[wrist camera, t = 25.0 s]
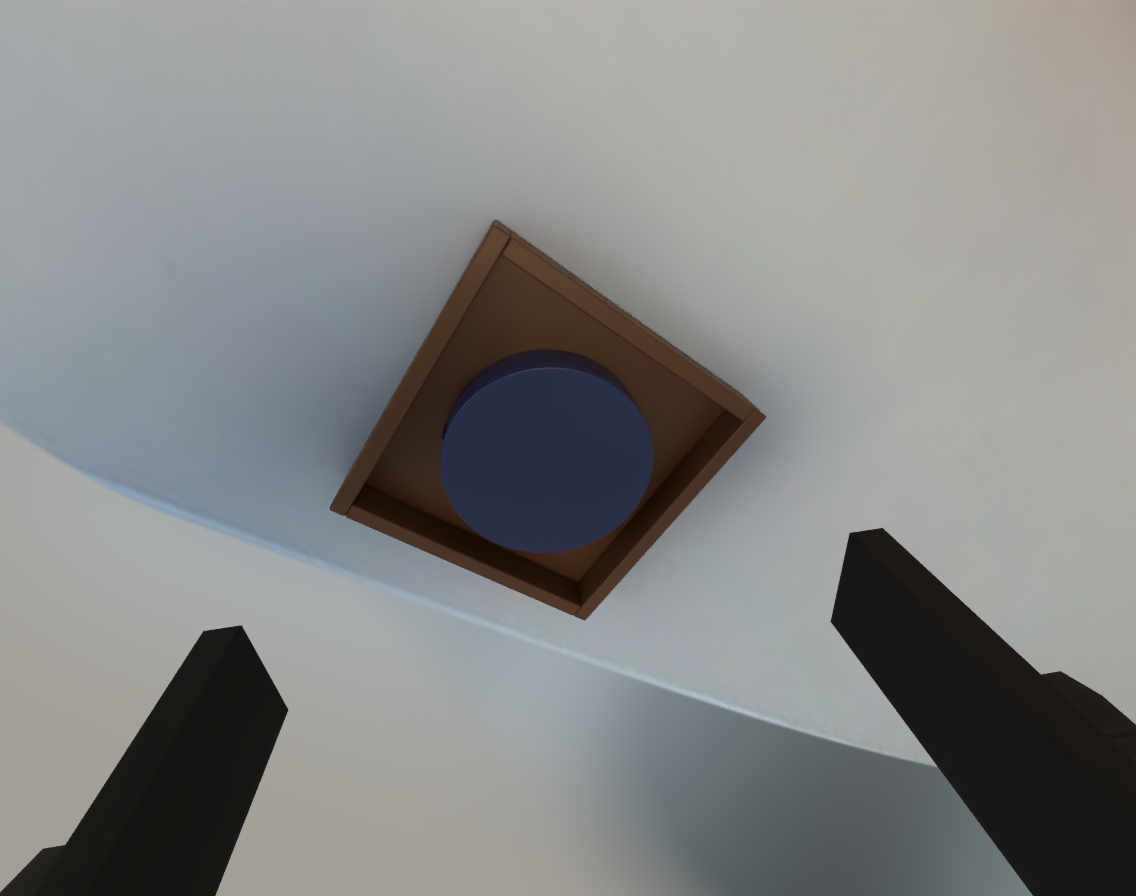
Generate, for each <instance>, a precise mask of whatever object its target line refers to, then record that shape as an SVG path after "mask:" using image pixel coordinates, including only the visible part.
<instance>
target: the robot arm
mask: <svg viewBox="0 0 1136 896" xmlns="http://www.w3.org/2000/svg"><path fill="white" fill-rule="evenodd" d="M831 623H832V624H833V625H834V627H835V628H836V630H837V631H838V632H839V634H840V635H841V636H842V638H843V639H844V640H845V642H846V643H847V644H848V646H849V647H850V648H851V650H852V651H853V653H854V654H855V655H856V657H857V658H858V659H859V661H860V662H861V663H862V665H863V666H864V667H865V669H866V670H867V671H868V673H869V674H870V676H871V677H872V678H873V680H874V681H875V682H876V684H877V685H878V686H879V688H880V689H881V690H882V692H883V693H884V694H885V696H886V697H887V699H888V700H889V701H890V703H891V704H892V705H893V707H894V708H895V709H896V711H897V712H898V713H899V715H900V716H901V718H902V719H903V720H904V722H905V723H906V724H907V726H908V727H909V728H910V730H911V731H912V732H913V734H914V735H915V736H916V738H917V739H918V741H919V742H920V743H921V745H922V746H923V747H924V749H925V750H926V751H927V753H928V754H929V755H930V757H931V758H932V759H933V761H934V762H935V764H936V765H937V766H938V768H939V769H940V770H941V772H942V773H943V774H944V776H945V777H946V778H947V780H948V781H949V782H950V784H951V785H952V786H953V788H954V789H955V791H956V792H957V793H958V795H959V796H960V797H961V799H962V800H963V801H964V803H965V804H966V805H967V807H968V808H969V810H970V811H971V812H972V813H973V815H974V816H975V818H976V819H977V820H978V822H979V823H980V824H981V826H982V827H983V828H984V830H985V831H986V833H987V834H988V835H989V837H990V838H991V839H992V841H993V842H994V843H995V845H996V846H997V847H998V849H999V850H1000V851H1001V853H1002V854H1003V856H1004V857H1005V858H1006V860H1007V861H1008V862H1009V864H1010V865H1011V866H1012V867H1013V869H1014V870H1015V872H1016V873H1017V874H1018V876H1019V877H1020V879H1021V880H1022V881H1023V883H1024V884H1025V885H1026V887H1027V888H1028V889H1029V891H1030V892H1031V893H1032V895H1033V896H1136V725H1135V724H1134V723H1133V722H1132V721H1131V720H1130V719H1128V718H1127V717H1126V716H1125V715H1124V714H1123V713H1121V712H1120V711H1119V710H1118V709H1117V708H1116V707H1115V706H1113V705H1112V704H1111V703H1110V702H1109V701H1108V700H1106V699H1105V698H1104V697H1103V696H1102V695H1100V694H1098V693H1097V692H1095V691H1093V690H1092V689H1090V688H1088V687H1086V686H1085V685H1083V684H1081V683H1080V682H1078V681H1076V680H1075V679H1073V678H1071V677H1070V676H1068V675H1066V674H1064V673H1063V672H1061V671H1059V672H1053V673H1047V674H1042V675H1041V674H1040V673H1039V672H1038V671H1036V670H1035V669H1034V668H1033V667H1032V666H1031V665H1030V664H1029V663H1028V662H1027V661H1026V660H1025V659H1023V658H1022V657H1021V656H1020V655H1019V654H1018V653H1017V652H1016V651H1015V650H1014V649H1013V648H1012V647H1011V646H1009V645H1008V644H1007V643H1006V642H1005V641H1004V640H1003V639H1002V638H1001V637H1000V636H999V635H998V634H996V633H995V632H994V631H993V630H992V629H991V628H990V627H989V626H988V625H987V624H986V623H985V622H984V621H982V620H981V619H980V618H979V617H978V616H977V615H976V614H975V613H974V612H973V611H972V610H971V609H970V608H968V607H967V606H966V605H965V604H964V603H963V602H962V601H961V600H960V599H959V598H958V597H957V596H955V595H954V594H953V593H952V592H951V591H950V590H949V589H948V588H947V587H946V586H945V585H944V584H942V583H941V582H940V581H939V580H938V579H937V578H936V577H935V576H934V575H933V574H932V573H931V572H930V571H928V570H927V569H926V568H925V567H924V566H923V565H922V564H921V563H920V562H919V561H918V560H917V559H915V558H914V557H913V556H912V555H911V554H910V553H909V552H908V551H907V550H906V549H905V548H904V547H903V546H901V545H900V544H899V543H898V542H897V541H896V540H895V539H894V538H893V537H892V536H891V535H890V534H888V533H887V532H886V531H885V530H884V529H883V528H880V529H873V530H866V531H860V532H853V533H850V534H849V539H848V543H847V548H846V553H845V557H844V562H843V567H842V571H841V576H840V581H839V585H838V590H837V595H836V600H835V604H834V609H833V614H832V618H831ZM287 712H288V708H287V707H286V705H285V703H284V701H283V699H282V698H281V696H280V694H279V692H278V690H277V688H276V687H275V685H274V683H273V681H272V679H271V678H270V676H269V674H268V672H267V670H266V669H265V667H264V665H263V663H262V661H261V660H260V658H259V656H258V654H257V652H256V651H255V649H254V647H253V645H252V643H251V641H250V640H249V638H248V636H247V634H246V632H245V631H244V629H243V627H242V626H235V627H228V628H221V629H215V630H208V631H203V633H202V634H201V636H200V637H199V639H198V640H197V642H196V643H195V645H194V647H193V648H192V650H191V651H190V653H189V654H188V656H187V657H186V659H185V661H184V662H183V664H182V665H181V667H180V668H179V670H178V671H177V673H176V674H175V676H174V678H173V679H172V681H171V682H170V684H169V685H168V687H167V688H166V690H165V691H164V693H163V695H162V696H161V698H160V699H159V701H158V702H157V704H156V705H155V707H154V709H153V710H152V712H151V713H150V715H149V716H148V718H147V719H146V721H145V722H144V724H143V726H142V727H141V729H140V730H139V732H138V733H137V735H136V737H135V738H134V739H133V741H132V743H131V744H130V746H129V747H128V749H127V750H126V752H125V754H124V755H123V757H122V758H121V760H120V761H119V763H118V764H117V766H116V767H115V769H114V771H113V772H112V774H111V775H110V777H109V778H108V780H107V781H106V783H105V784H104V786H103V788H102V789H101V791H100V792H99V794H98V795H97V797H96V798H95V800H94V801H93V803H92V805H91V806H90V808H89V809H88V811H87V812H86V814H85V815H84V817H83V819H82V820H81V822H80V823H79V825H78V826H77V828H76V830H75V831H74V833H73V834H72V836H71V837H70V839H69V840H68V842H67V843H66V845H63V846H57V847H51V848H45V849H42V851H40V852H39V853H38V854H37V855H36V856H35V857H34V859H32V861H31V862H30V863H29V864H28V865H27V866H26V867H25V868H24V869H23V870H22V871H21V872H20V873H19V874H18V875H17V876H16V877H15V878H14V879H13V880H12V881H11V882H10V883H9V884H8V885H7V886H6V887H5V888H4V889H3V890H2V891H1V892H0V896H215V895H216V892H217V890H218V888H219V885H220V882H221V880H222V877H223V875H224V872H225V869H226V867H227V865H228V862H229V860H230V857H231V854H232V852H233V849H234V847H235V844H236V842H237V839H238V837H239V834H240V831H241V829H242V826H243V824H244V821H245V819H246V816H247V814H248V811H249V809H250V806H251V803H252V801H253V798H254V796H255V793H256V791H257V788H258V786H259V783H260V781H261V778H262V776H263V773H264V770H265V768H266V765H267V763H268V760H269V758H270V755H271V753H272V750H273V748H274V745H275V742H276V739H277V737H278V735H279V732H280V730H281V727H282V724H283V722H284V720H285V717H286V714H287Z"/></svg>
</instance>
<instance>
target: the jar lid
mask: <svg viewBox="0 0 1136 896" xmlns="http://www.w3.org/2000/svg"><path fill="white" fill-rule="evenodd" d="M441 441H442V442H443V444H442V448H441V457H440V470H441V477H442V482H443V486H444V489H445V492H446V495H447V497H448V499H449V501H450V503H451V505H452V507H453V508H454V509H455V511H456V512H457V514H458V515H459V516H460V518H461V519H462V520H463V521H464V522H465V523H466V524H467V525H468V526H469V527H471V528H472V529H473V530H474V531H476V532H477V533H478V534H480V535H481V536H483V537H484V538H486V539H488V540H490V541H492V542H494V543H496V544H498V545H501V546H504V547H507V548H510V549H513V550H518V551H523V552H531V553H554V552H562V551H567V550H572V549H576V548H579V547H582V546H585V545H587V544H590V543H592V542H594V541H596V540H598V539H600V538H602V537H604V536H605V535H607V534H609V533H610V532H611V531H613V530H614V529H615V528H617V527H618V526H619V525H620V524H621V523H622V522H624V521H625V520H626V519H627V518H628V517H629V515H630V514H631V513H632V512H633V511H634V509H635V508H636V507H637V505H638V504H639V502H640V501H641V499H642V497H643V495H644V493H645V491H646V489H647V486H648V483H649V480H650V477H651V472H652V467H653V445H652V438H651V435H650V431H649V428H648V426H647V423H646V421H645V419H644V417H643V415H642V413H641V412H640V410H639V408H638V406H637V405H636V403H635V401H634V399H633V398H632V396H631V394H630V393H629V391H628V390H627V388H626V387H625V386H624V384H623V383H622V382H621V381H620V380H619V379H618V378H617V377H616V376H615V375H614V374H613V373H612V372H611V371H609V370H608V369H607V368H605V367H604V366H602V365H601V364H599V363H597V362H595V361H593V360H591V359H589V358H587V357H585V356H581V355H578V354H575V353H571V352H566V351H560V350H534V351H527V352H523V353H518V354H515V355H512V356H509V357H506V358H504V359H502V360H500V361H498V362H496V363H494V364H492V365H490V366H489V367H487V368H486V369H484V370H483V371H481V372H480V373H479V374H478V375H477V376H476V377H474V378H473V379H472V380H471V381H470V382H469V383H468V385H467V386H466V387H465V388H464V389H463V390H462V392H461V393H460V395H459V397H458V398H457V400H456V401H455V403H454V406H453V408H452V410H451V413H450V416H449V419H448V423H447V424H445V425H444V429H443V433H442V437H441Z"/></svg>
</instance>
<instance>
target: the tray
mask: <svg viewBox="0 0 1136 896" xmlns="http://www.w3.org/2000/svg"><path fill="white" fill-rule="evenodd" d="M534 350H560V351H566V352H571V353H575V354H578V355H581V356H585V357H587V358H589V359H591V360H593V361H595V362H597V363H599V364H601V365H602V366H604V367H605V368H607V369H608V370H609V371H611V372H612V373H613V374H614V375H615V376H616V377H617V378H618V379H619V380H620V381H621V382H622V383H623V384H624V386H625V387H626V388H627V390H628V391H629V393H630V394H631V396H632V398H633V399H634V401H635V403H636V405H637V406H638V408H639V410H640V412H641V413H642V415H643V417H644V419H645V421H646V423H647V426H648V428H649V431H650V435H651V438H652V445H653V467H652V472H651V477H650V480H649V483H648V486H647V489H646V491H645V493H644V495H643V497H642V499H641V501H640V502H639V504H638V505H637V507H636V508H635V509H634V511H633V512H632V513H631V514H630V515H629V517H628V518H627V519H626V520H625V521H624V522H622V523H621V524H620V525H619V526H618V527H617V528H615V529H614V530H613V531H611V532H610V533H609V534H607V535H605V536H604V537H602V538H600V539H598V540H596V541H594V542H592V543H590V544H587V545H585V546H582V547H579V548H576V549H572V550H567V551H562V552H554V553H531V552H523V551H518V550H513V549H510V548H507V547H504V546H501V545H498V544H496V543H494V542H492V541H490V540H488V539H486V538H484V537H483V536H481V535H480V534H478V533H477V532H476V531H474V530H473V529H472V528H471V527H469V526H468V525H467V524H466V523H465V522H464V521H463V520H462V519H461V518H460V516H459V515H458V514H457V512H456V511H455V509H454V508H453V507H452V505H451V503H450V501H449V499H448V497H447V495H446V492H445V489H444V486H443V482H442V477H441V470H440V457H441V448H442V444H443V442H442V441H441V437H442V433H443V429H444V425H445V424H447V423H448V419H449V416H450V413H451V410H452V408H453V406H454V403H455V401H456V400H457V398H458V397H459V395H460V393H461V392H462V390H463V389H464V388H465V387H466V386H467V385H468V383H469V382H470V381H471V380H472V379H473V378H474V377H476V376H477V375H478V374H479V373H480V372H481V371H483V370H484V369H486V368H487V367H489V366H490V365H492V364H494V363H496V362H498V361H500V360H502V359H504V358H506V357H509V356H512V355H515V354H518V353H523V352H527V351H534ZM765 418H766V416H765V415H764V414H763V413H762V412H761V411H760V410H759V409H758V408H756V407H755V406H754V405H753V404H752V403H751V402H750V401H749V400H748V399H747V398H746V397H744V396H743V395H742V394H741V393H739V392H738V391H736V390H735V389H734V388H732V387H731V386H729V385H728V384H727V383H725V382H724V381H722V380H721V379H720V378H718V377H717V376H715V375H714V374H713V373H711V372H710V371H708V370H707V369H706V368H704V367H703V366H701V365H700V364H699V363H697V362H696V361H694V360H693V359H691V358H690V357H689V356H687V355H686V354H684V353H683V352H682V351H680V350H679V349H677V348H676V347H675V346H673V345H672V344H670V343H669V342H668V341H666V340H665V339H663V338H662V337H661V336H659V335H658V334H656V333H655V332H654V331H652V330H651V329H649V328H648V327H646V326H645V325H644V324H642V323H641V322H639V321H638V320H637V319H635V318H634V317H632V316H631V315H630V314H628V313H627V312H625V311H624V310H623V309H621V308H620V307H618V306H617V305H616V304H614V303H613V302H611V301H610V300H609V299H607V298H606V297H604V296H603V295H601V294H600V293H599V292H597V291H596V290H594V289H593V288H592V287H590V286H589V285H587V284H586V283H585V282H583V281H582V280H580V279H579V278H578V277H576V276H575V275H573V274H572V273H571V272H569V271H568V270H566V269H565V268H564V267H562V266H561V265H559V264H558V263H556V262H555V261H554V260H552V259H551V258H549V257H548V256H547V255H545V254H544V253H542V252H541V251H540V250H538V249H537V248H535V247H534V246H533V245H531V244H530V243H528V242H527V241H526V240H524V239H523V238H521V237H520V236H519V235H517V234H516V233H514V232H513V231H511V230H510V229H509V228H507V227H506V226H504V225H503V224H502V223H500V222H499V221H497V220H494V221H493V223H492V225H491V226H490V228H489V230H488V231H487V233H486V235H485V237H484V238H483V240H482V242H481V244H480V245H479V247H478V249H477V251H476V252H475V254H474V256H473V258H472V259H471V261H470V263H469V264H468V266H467V268H466V270H465V271H464V273H463V275H462V277H461V278H460V280H459V282H458V284H457V285H456V287H455V289H454V290H453V292H452V294H451V296H450V297H449V299H448V301H447V303H446V304H445V306H444V308H443V310H442V311H441V313H440V315H439V316H438V318H437V320H436V322H435V323H434V325H433V327H432V329H431V330H430V332H429V334H428V336H427V337H426V339H425V341H424V343H423V344H422V346H421V348H420V349H419V351H418V353H417V355H416V356H415V358H414V360H413V362H412V363H411V365H410V367H409V369H408V370H407V372H406V374H405V375H404V377H403V379H402V381H401V382H400V384H399V386H398V388H397V389H396V391H395V393H394V395H393V396H392V398H391V400H390V402H389V403H388V405H387V407H386V408H385V410H384V412H383V414H382V415H381V417H380V419H379V421H378V422H377V424H376V426H375V428H374V429H373V431H372V433H371V434H370V436H369V438H368V440H367V441H366V443H365V445H364V447H363V448H362V450H361V452H360V454H359V455H358V457H357V459H356V461H355V462H354V464H353V466H352V467H351V469H350V471H349V473H348V474H347V476H346V478H345V480H344V482H343V483H342V485H341V487H340V489H339V491H338V493H337V495H336V496H335V498H334V500H333V502H332V504H331V506H330V510H331V511H333V512H336V513H338V514H340V515H343V516H345V515H346V517H347V518H350V519H352V520H354V521H356V522H359V523H361V524H363V525H366V526H368V527H370V528H373V529H375V530H377V531H379V532H382V533H384V534H386V535H389V536H391V537H393V538H396V539H398V540H400V541H402V542H405V543H407V544H409V545H412V546H414V547H416V548H419V549H421V550H423V551H426V552H428V553H430V554H432V555H435V556H437V557H439V558H442V559H444V560H446V561H449V562H451V563H453V564H455V565H458V566H460V567H462V568H465V569H467V570H469V571H472V572H474V573H476V574H478V575H481V576H483V577H485V578H488V579H490V580H492V581H495V582H497V583H499V584H502V585H504V586H506V587H508V588H511V589H513V590H515V591H518V592H520V593H522V594H525V595H527V596H529V597H531V598H534V599H536V600H538V601H541V602H543V603H545V604H548V605H550V606H552V607H554V608H557V609H559V610H561V611H564V612H566V613H568V614H571V615H574V616H575V617H578V618H580V619H582V620H586V619H587V618H588V617H589V616H590V614H591V613H592V612H593V611H594V610H595V609H596V608H597V607H598V605H599V604H600V603H601V602H602V601H603V600H604V599H605V598H606V596H607V595H608V594H609V593H610V592H611V591H612V590H613V589H614V587H615V586H616V585H617V584H618V583H619V582H620V581H621V580H622V579H623V577H624V576H625V575H626V574H627V573H628V572H629V571H630V570H631V568H632V567H633V566H634V565H635V564H636V563H637V562H638V561H639V559H640V558H641V557H642V556H643V555H644V554H645V553H646V552H647V550H648V549H649V548H650V547H651V546H652V545H653V544H654V543H655V542H656V540H657V539H658V538H659V537H660V536H661V535H662V534H663V533H664V531H665V530H666V529H667V528H668V527H669V526H670V525H671V524H672V522H673V521H674V520H675V519H676V518H677V517H678V516H679V515H680V513H681V512H682V511H683V510H684V509H685V508H686V507H687V506H688V505H689V503H690V502H691V501H692V500H693V499H694V498H695V497H696V496H697V494H698V493H699V492H700V491H701V490H702V489H703V488H704V487H705V485H706V484H707V483H708V482H709V481H710V480H711V479H712V478H713V476H714V475H715V474H716V473H717V472H718V471H719V470H720V469H721V468H722V466H723V465H724V464H725V463H726V462H727V461H728V460H729V459H730V457H731V456H732V455H733V454H734V453H735V452H736V451H737V450H738V448H739V447H740V446H741V445H742V444H743V443H744V442H745V441H746V439H747V438H748V437H749V436H750V435H751V434H752V433H753V432H754V431H755V429H756V428H757V427H758V426H759V425H760V424H761V423H762V422H763V420H764V419H765Z"/></svg>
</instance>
